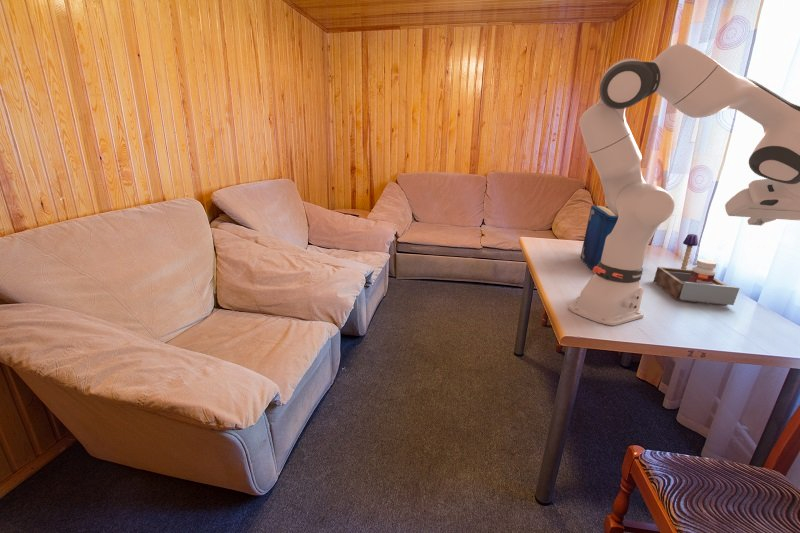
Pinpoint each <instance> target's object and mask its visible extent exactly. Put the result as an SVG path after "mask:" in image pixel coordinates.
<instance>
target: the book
mask: <svg viewBox="0 0 800 533" xmlns="http://www.w3.org/2000/svg"><path fill="white" fill-rule="evenodd" d="M617 220H618V215H615V214H614V213H612V212H611V211H610V209H609V208H608V207H607V205H605V206H602V205H594V204H593V205H591V207H590V210H589V216H588V220H587V226H586V229H585V234H584V240H583V244H582V248H581V253H580V257H579V258H580V259H581V261H582V262H583V263H584V264H585V265H586V266H587V268H588V270H590V271H591V270H592V272H593V268H594V267H595V266H597V265H598V263H599V261H600V260H601V257H602V253H603V249H604V244H605V240H606V237H607V236H608V235H609V234H610V233H611V232H612V230H613V228H614V226H615V224H616V222H617Z"/></svg>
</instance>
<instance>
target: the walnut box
mask: <svg viewBox="0 0 800 533" xmlns="http://www.w3.org/2000/svg"><path fill="white" fill-rule="evenodd" d="M667 271H670V272H681V273H691V272H692V269H681V268H676V267H675V268H674V267H661V266H657V268H656V271H655V275H654V279H653V283H655V284H656V285H657V286H658V287H659V288H660V289H662V290H663V291H664V292H666V293H667V294H668V295H670V297H671V298H673V299H675V300H676V301H683V302H691V303H700V304H707V305H708V304H709V305H710V304H711V305H720V306H728V305H727V304H718V303H708V302H699V301H690V300H681V299H680V295H681V291H682V288H683V285H684V283H683V282H682V281H680V280H679V279H677V278H676V277H674V276H673V275H672V274H670V273H669V272H667ZM713 283H715V284H716V285H725V286H728V285H727V284H726V283H724V282H722V281H720V280H718V279H717V278H716V277H714V279H713Z"/></svg>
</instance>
